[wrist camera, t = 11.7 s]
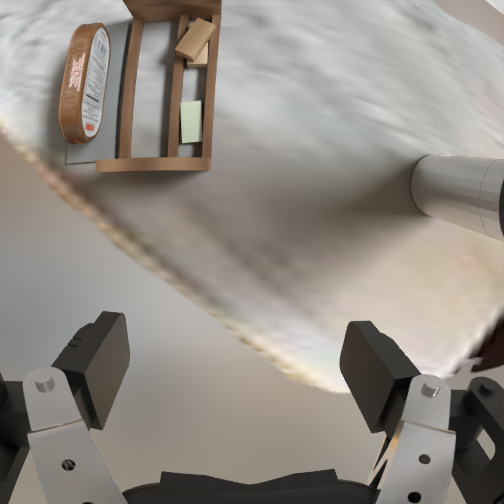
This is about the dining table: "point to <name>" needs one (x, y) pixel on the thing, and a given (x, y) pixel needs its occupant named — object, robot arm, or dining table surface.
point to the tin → (84, 83)
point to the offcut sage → (191, 122)
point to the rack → (166, 9)
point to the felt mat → (106, 105)
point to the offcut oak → (195, 39)
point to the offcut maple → (199, 57)
